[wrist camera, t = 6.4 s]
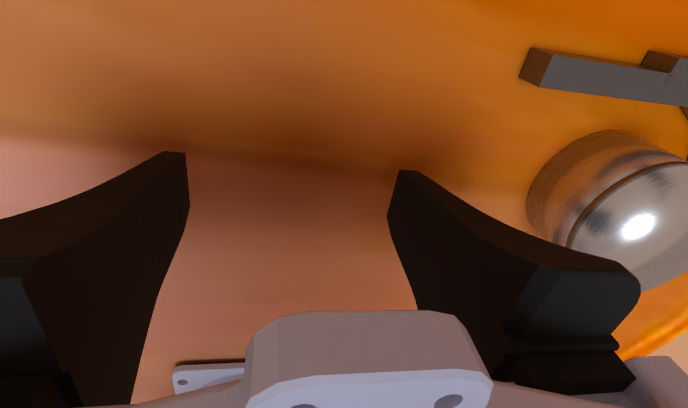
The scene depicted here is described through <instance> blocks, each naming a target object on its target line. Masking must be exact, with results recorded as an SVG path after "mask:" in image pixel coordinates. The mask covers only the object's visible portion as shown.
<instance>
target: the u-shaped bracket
mask: <svg viewBox="0 0 688 408" xmlns="http://www.w3.org/2000/svg"><path fill="white" fill-rule="evenodd" d="M519 78H521V79H523V80H525V81H527V82H529V83H531V84H534V85H536V86H538V87H542V88H549V89H557V90H564V91H571V92H579V93H586V94H594V95H601V96H608V97H616V98H623V99H631V100H638V101H645V102H653V103H660V104H668V105H675V106H680V107H681V108H682V110H683V112H684V114H685V115H686V117H687V119H688V57H683V56H678V55H672V54H666V53H660V52H654V51H649V52H648V54H647V56H646V57H645V59H644V61H643V62H642V64H641V65H638V64H631V63H625V62H619V61H613V60H607V59H600V58H594V57H588V56H582V55H576V54H569V53H563V52H557V51H551V50H544V49H538V48H532V47H531V49H530V51H529V54H528V56H527V59H526V61H525V64H524V66H523V68H522V71H521V73H520V76H519ZM687 161H688V160H687Z"/></svg>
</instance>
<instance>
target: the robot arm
mask: <svg viewBox="0 0 688 408" xmlns="http://www.w3.org/2000/svg"><path fill="white" fill-rule="evenodd" d="M189 208H190V201H189V190H188V179H187V167H186V156H185V153H181V152H168V151H164V152H161V153H159V154H157V155H155V156H153V157H152V158H150V159H148V160H146V161H144V162H143V163H141V164H139V165H137V166H136V167H134V168H132V169H130V170H128V171H126V172H125V173H123V174H121V175H119V176H117V177H115V178H113V179H111V180H109V181H107V182H105V183H103V184H101V185H98V186H96V187H94V188H92V189H90V190H88V191H85V192H83V193H80V194H78V195H76V196H73V197H70V198H68V199H65V200H62V201H60V202H57V203H54V204H51V205H48V206H45V207H41V208H38V209H35V210H31V211H28V212H25V213H21V214H18V215H15V216H11V217H8V218H4V219H0V408H688V375H687V374H686V373H685V372H684V371H683V370H682V369H681V368H680V367H679V366H678V365H677V364H676V363H675V362H674V361H673V360H672V359H671V358H670V357H668V356H648V357H634V358H630V359H628V360H626V361H624V362H623V361H622V360H621V359H620V358H619V357H618V356H617V354H616V353H615V352H614V351H617V350H618V349H619V343H618V342H617V341H616V340H615V339H614V338H613V336H612V335H611V333H612V332H613V331H614V330H615V329H616V328H617V326H618V325H619V324H620V323H621V322H622V321H623V320H624V319H625V317H626V316H627V315H628V314H629V313H630V312H631V311H632V309H633V308H634V307H635V305H636V304H637V302H638V299H639V297H640V294H641V284H640V282H639V280H638V279H637V278H636V277H635V276H634V275H633V274H632V273H631V272H630V271H629V270H628V269H626V268H625V267H624V266H623V265H622V264H620V263H619V262H617V261H614V260H610V259H607V258H603V257H599V256H595V255H591V254H587V253H584V252H580V251H576V250H573V249H570V248H567V247H563V246H560V245H557V244H554V243H551V242H548V241H546V240H543V239H540V238H537V237H535V236H532V235H530V234H527V233H525V232H522V231H520V230H517V229H515V228H513V227H511V226H509V225H506V224H504V223H502V222H500V221H498V220H496V219H494V218H492V217H490V216H488V215H487V214H485V213H483V212H481V211H479V210H478V209H476V208H474V207H473V206H471V205H469V204H468V203H466V202H464V201H463V200H461V199H460V198H458V197H456V196H455V195H453V194H452V193H450V192H449V191H447V190H446V189H444V188H443V187H441V186H440V185H438V184H437V183H435V182H434V181H432V180H431V179H429V178H428V177H426V176H424V175H423V174H421V173H419V172H417V171H412V170H399V173H398V177H397V180H396V184H395V187H394V191H393V195H392V198H391V202H390V205H389V209H388V213H387V220H388V225H389V230H390V234H391V238H392V241H393V243H394V246H395V248H396V251H397V253H398V256H399V258H400V261H401V263H402V266H403V268H404V271H405V273H406V276H407V278H408V281H409V283H410V286H411V288H412V291H413V294H414V297H415V300H416V304H417V308H418V310H391V311H307V312H302V313H296V314H291V315H286V316H281V317H279V318H277V319H276V320H274V321H272V322H271V323H269V324H268V325H266V326H264V327H263V328H261V329H260V330H258V331H256V332H255V333H254V335H253V337H252V339H251V341H250V344H249V346H248V348H247V350H246V358H245V362H243V363H220V364H196V365H180V366H177V367H175V368H174V369H173V373H172V381H173V386H174V391H175V395H173V396H169V397H165V398H160V399H156V400H152V401H148V402H144V403H140V404H130V402H131V397H132V393H133V389H134V384H135V380H136V376H137V372H138V368H139V363H140V359H141V355H142V351H143V347H144V344H145V340H146V336H147V332H148V328H149V324H150V321H151V317H152V314H153V310H154V307H155V303H156V300H157V296H158V294H159V291H160V288H161V285H162V283H163V281H164V278H165V276H166V273H167V271H168V269H169V266H170V264H171V261H172V259H173V257H174V254H175V252H176V250H177V247H178V245H179V242H180V240H181V237H182V235H183V232H184V229H185V225H186V221H187V217H188V213H189Z"/></svg>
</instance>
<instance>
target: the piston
mask: <svg viewBox="0 0 688 408" xmlns="http://www.w3.org/2000/svg"><path fill="white" fill-rule="evenodd" d="M526 214H527V217H528V220H529V221H530V223H531V224H532V225H533V226H534V228H535V229H536V230H537V231H538V232H539V233H540V234H541V235H542V236H543V237H544V238H545V239H546V240H547V241H548V242H551V243H554V244H557V245H560V246H563V247H567V248H570V249H573V250H576V251H580V252H584V253H587V254H591V255H595V256H599V257H603V258H607V259H610V260H614V261H617V262H619V263H620V264H622V265H623V266H624V267H625V268H626V269H628V270H629V271H630V272H631V273H632V274H633V275H634V276H635V277H636V278H637V279H638V280H639V282H640V284H641V292H644V291H647V290H650V289H653V288H655V287H658V286H660V285H662V284H664V283H667V282H669V281H671V280H672V279H674V278H676V277H678V276H680V275H681V274H683V273H685V272H686V271H688V161H686V160H684V159H682V158H680V157H678V156H676V155H674V154H672V153H670V152H668V151H666V150H664V149H662V148H660V147H658V146H656V145H654V144H652V143H650V142H648V141H646V140H644V139H641V138H639V137H637V136H635V135H633V134H631V133H629V132H626V131H621V130H606V131H600V132H596V133H593V134H590V135H587V136H584V137H582V138H580V139H578V140H576V141H574V142H573V143H571V144H569V145H568V146H566V147H565V148H563V149H562V150H560V151H559V152H558V153H557V154H556V155H554V156H553V157H552V158H551V159H550V160H549V161H548V162H547V163H546V164H545V165H544V167H543V168H542V169H541V170H540V172H539V173H538V174H537V176H536V177H535V179H534V181H533V182H532V184H531V187H530V189H529V191H528V195H527V198H526Z"/></svg>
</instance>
